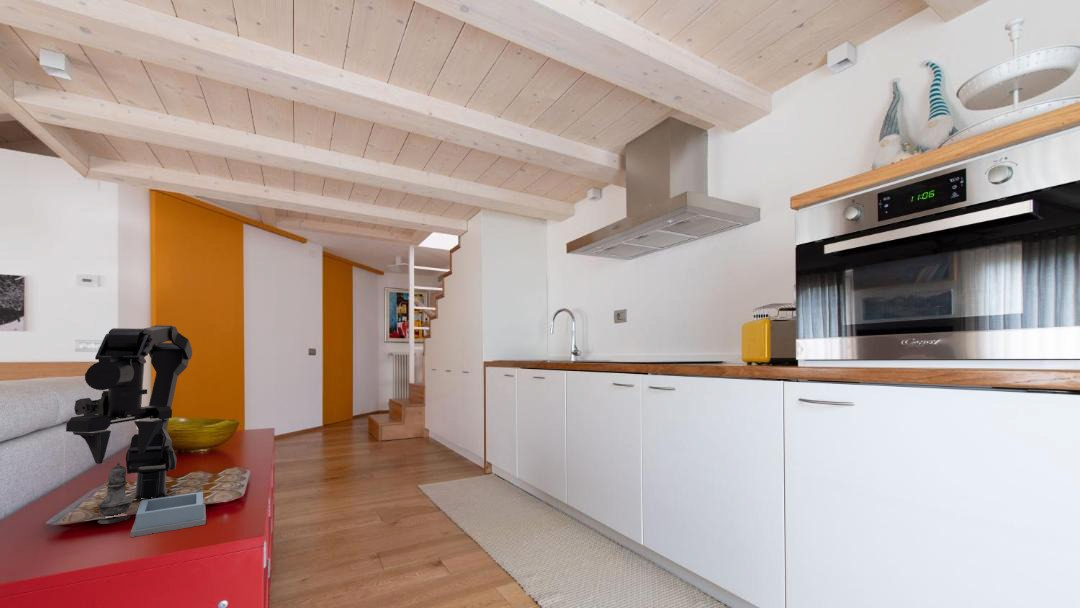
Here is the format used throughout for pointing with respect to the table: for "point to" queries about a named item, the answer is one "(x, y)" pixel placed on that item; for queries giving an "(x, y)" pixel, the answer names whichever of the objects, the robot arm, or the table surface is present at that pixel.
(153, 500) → the holder
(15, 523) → the table surface
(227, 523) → the table surface
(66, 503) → the table surface
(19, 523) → the table surface
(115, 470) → the grey stone tall figure
